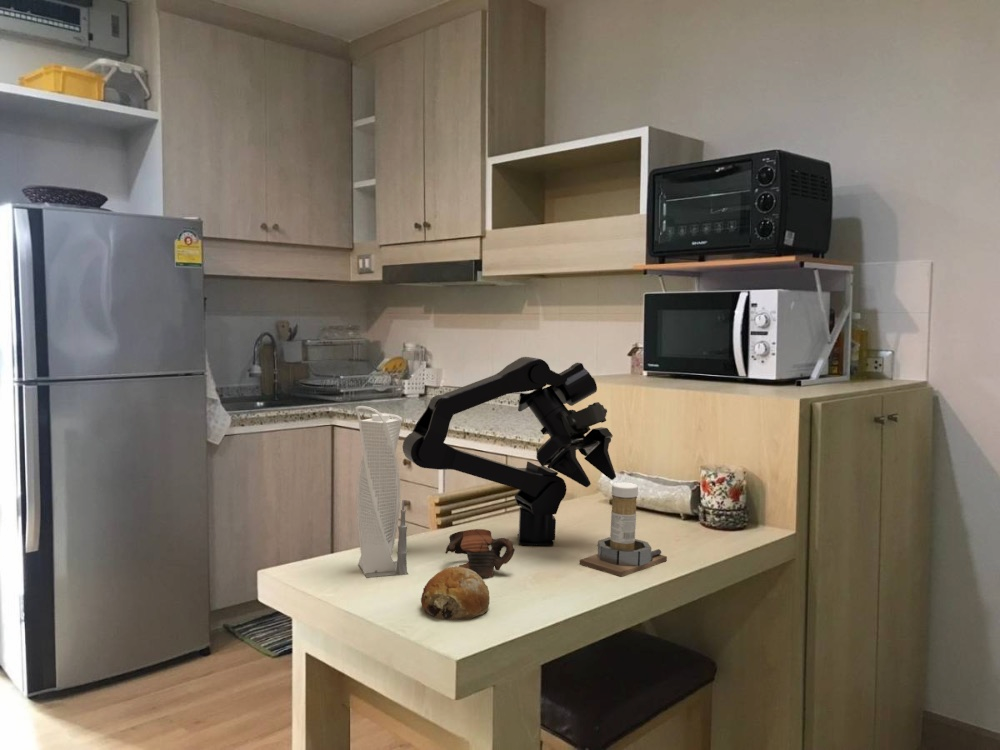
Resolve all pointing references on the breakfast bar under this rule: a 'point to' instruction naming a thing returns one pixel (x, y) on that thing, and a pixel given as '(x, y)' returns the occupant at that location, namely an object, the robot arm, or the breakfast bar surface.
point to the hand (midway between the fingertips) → (601, 482)
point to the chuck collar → (626, 553)
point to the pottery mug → (480, 550)
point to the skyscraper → (380, 497)
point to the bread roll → (455, 594)
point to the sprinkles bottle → (623, 515)
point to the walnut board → (616, 569)
